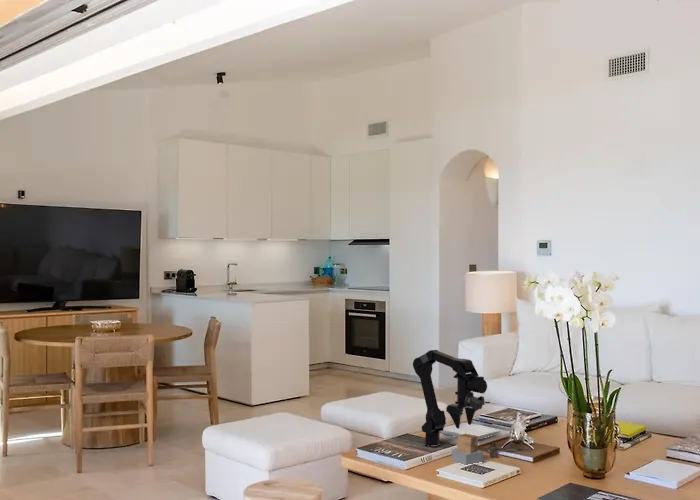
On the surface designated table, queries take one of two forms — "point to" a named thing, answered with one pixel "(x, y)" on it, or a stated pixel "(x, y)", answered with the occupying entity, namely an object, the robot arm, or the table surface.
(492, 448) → the bear figurine
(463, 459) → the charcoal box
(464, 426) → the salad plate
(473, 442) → the walnut cube
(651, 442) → the table surface
